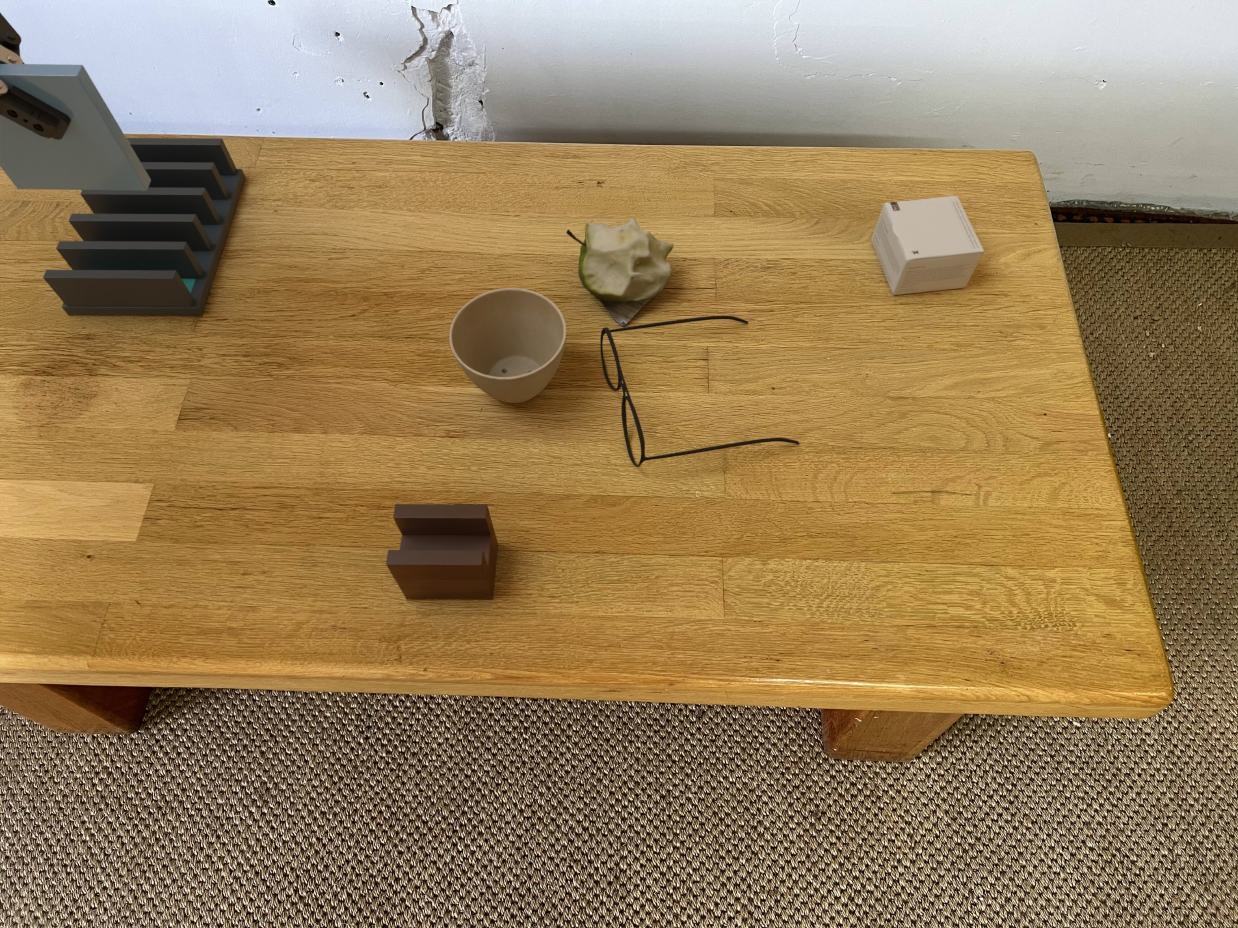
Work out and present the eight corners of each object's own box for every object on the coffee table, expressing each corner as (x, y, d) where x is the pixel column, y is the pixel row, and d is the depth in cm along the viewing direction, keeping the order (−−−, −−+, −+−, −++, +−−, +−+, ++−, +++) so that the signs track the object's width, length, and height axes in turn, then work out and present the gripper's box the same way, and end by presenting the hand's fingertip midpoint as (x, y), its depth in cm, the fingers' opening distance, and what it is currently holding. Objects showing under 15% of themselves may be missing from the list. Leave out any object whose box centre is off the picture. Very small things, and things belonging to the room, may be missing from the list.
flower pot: (591, 392, 79) (588, 343, 73) (496, 444, 76) (486, 398, 70) (534, 321, 83) (527, 270, 77) (442, 368, 81) (428, 319, 74)
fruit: (560, 304, 86) (548, 235, 80) (621, 257, 90) (614, 188, 84) (631, 339, 82) (624, 269, 76) (691, 288, 86) (689, 218, 80)
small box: (967, 289, 86) (986, 252, 81) (890, 297, 85) (906, 260, 81) (942, 231, 89) (959, 193, 85) (868, 239, 89) (881, 201, 84)
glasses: (596, 352, 82) (601, 317, 77) (743, 333, 85) (755, 298, 81) (635, 481, 75) (643, 450, 70) (793, 454, 78) (810, 423, 74)
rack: (202, 316, 84) (178, 279, 79) (67, 315, 84) (36, 278, 79) (246, 177, 93) (227, 137, 89) (125, 176, 93) (100, 136, 89)
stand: (493, 600, 69) (481, 565, 63) (405, 599, 69) (385, 564, 63) (498, 543, 72) (487, 504, 66) (413, 542, 72) (395, 503, 66)
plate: (147, 191, 67) (77, 76, 58) (17, 189, 67) (-72, 74, 58) (151, 180, 67) (82, 64, 58) (23, 178, 67) (-65, 62, 58)
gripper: (-202, -74, 57) (84, 91, 67) (-316, 57, 50) (21, 218, 61) (-187, -164, 52) (118, 29, 63) (-310, -32, 45) (54, 158, 56)
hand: (69, 121), depth 62 cm, fingers closed on plate, 1 cm apart
